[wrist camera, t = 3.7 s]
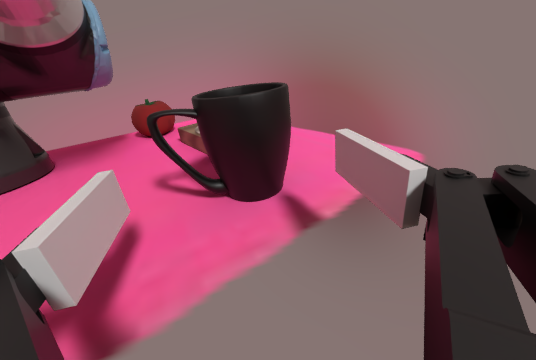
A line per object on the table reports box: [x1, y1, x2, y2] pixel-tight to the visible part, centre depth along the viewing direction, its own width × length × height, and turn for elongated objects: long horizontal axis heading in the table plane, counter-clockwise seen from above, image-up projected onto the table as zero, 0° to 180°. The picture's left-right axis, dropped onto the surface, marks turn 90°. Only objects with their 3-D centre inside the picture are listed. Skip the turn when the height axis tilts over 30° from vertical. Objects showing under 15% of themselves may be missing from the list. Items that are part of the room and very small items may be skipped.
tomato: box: [131, 99, 175, 136], centre depth 52 cm, size 8×8×7 cm
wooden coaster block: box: [178, 123, 207, 154], centre depth 42 cm, size 16×12×3 cm
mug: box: [147, 83, 291, 202], centre depth 23 cm, size 8×12×10 cm
